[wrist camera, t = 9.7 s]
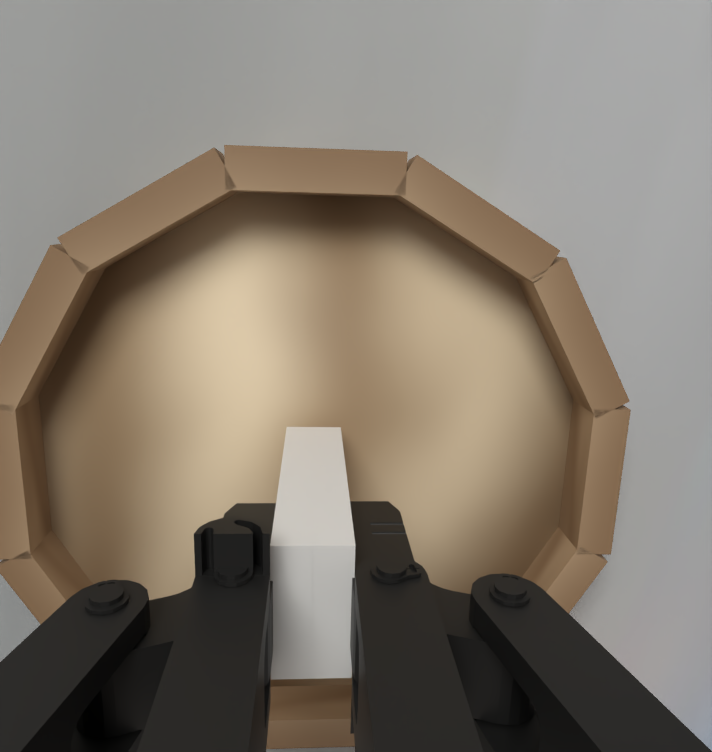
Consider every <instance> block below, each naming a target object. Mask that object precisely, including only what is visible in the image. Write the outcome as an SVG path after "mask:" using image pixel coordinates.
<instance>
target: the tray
mask: <svg viewBox="0 0 712 752" xmlns="http://www.w3.org/2000/svg"><path fill="white" fill-rule="evenodd" d="M224 149H225V157H224V155H223V154H222V153H221V152H219V151H218V150H217V149H215V148H212V149H211V150H209V151H207V152H206V153H204V154H202V155H200V156H199V157H197V158H195V159H193V160H192V161H190V162H188V163H186V164H185V165H183V166H181V167H179V168H178V169H176V170H174V171H172V172H171V173H169V174H167V175H166V176H164V177H162V178H160V179H159V180H157V181H155V182H153V183H152V184H150V185H148V186H146V187H145V188H143V189H141V190H139V191H138V192H136V193H134V194H132V195H131V196H129V197H127V198H126V199H124V200H122V201H120V202H119V203H117V204H115V205H113V206H112V207H110V208H108V209H106V210H105V211H103V212H101V213H99V214H98V215H96V216H94V217H93V218H91V219H89V220H87V221H86V222H84V223H82V224H80V225H79V226H77V227H75V228H73V229H72V230H70V231H68V232H66V233H65V234H63V235H61V236H59V237H58V239H59V241H60V243H61V244H57V245H50V247H49V249H48V251H47V253H46V255H45V257H44V259H43V261H42V263H41V265H40V267H39V269H38V271H37V273H36V275H35V277H34V279H33V281H32V283H31V285H30V286H29V288H28V290H27V292H26V294H25V296H24V298H23V300H22V302H21V304H20V306H19V308H18V310H17V312H16V314H15V316H14V318H13V320H12V322H11V324H10V326H9V328H8V330H7V332H6V334H5V336H4V338H3V340H2V342H1V344H0V559H3V560H2V561H1V562H0V574H1V575H2V576H3V577H4V579H5V580H6V581H7V582H8V584H9V585H10V586H11V587H12V589H13V590H14V591H15V592H16V594H17V595H18V596H19V598H20V599H21V600H22V601H23V603H24V604H25V605H26V606H27V608H28V609H29V610H30V611H31V613H32V614H33V615H34V616H35V618H36V619H37V620H38V621H39V623H40V624H42V623H43V622H44V621H45V620H46V619H47V618H48V617H50V616H51V615H52V614H53V613H54V612H55V611H56V610H57V609H58V608H59V607H60V606H61V605H62V604H63V603H65V602H66V601H67V600H68V599H69V598H70V597H71V596H73V595H74V594H75V593H77V592H78V591H80V590H81V589H83V588H85V587H88V586H91V585H93V584H96V583H98V582H102V581H107V580H130V581H133V582H137V583H140V584H141V585H142V586H144V587H145V588H146V589H147V591H148V596H149V600H153V599H157V598H162V597H167V596H171V595H175V594H178V593H181V592H183V591H185V590H188V589H190V588H191V587H192V585H193V582H194V579H195V555H194V533H195V532H196V531H197V529H198V528H199V527H200V526H202V525H204V524H206V523H208V522H210V521H213V520H217V519H220V518H223V517H224V514H225V513H226V512H227V511H228V510H229V509H230V508H232V507H233V506H234V505H235V504H236V503H276V500H277V493H278V485H279V478H280V471H281V464H282V457H283V449H284V442H285V435H286V428H287V427H341V434H342V442H343V450H344V458H345V466H346V474H347V482H348V490H349V498H350V501H388V502H390V503H391V504H392V505H393V506H394V507H396V508H397V509H398V510H399V511H400V513H401V517H402V520H403V525H404V527H405V530H406V534H407V537H408V541H409V544H410V547H411V551H412V554H413V558H414V561H415V562H417V563H418V564H420V565H422V566H423V568H424V569H425V571H426V572H427V574H428V577H429V580H430V583H432V584H434V585H436V586H439V587H441V588H444V589H448V590H452V591H456V592H462V593H467V594H471V588H472V584H473V583H474V582H475V581H476V580H477V579H478V578H480V577H483V576H486V575H489V574H501V573H505V574H510V575H511V574H513V575H517V576H520V577H522V578H525V579H527V580H530V581H532V582H534V583H535V584H536V585H538V586H539V587H541V588H542V589H543V590H544V591H545V592H546V593H547V594H549V595H550V596H551V597H552V598H553V599H554V600H555V601H556V602H557V603H558V604H559V605H560V606H561V607H562V608H563V609H564V610H565V611H566V612H567V613H568V614H569V612H570V611H571V610H572V608H573V607H574V606H575V604H576V603H577V602H578V600H579V599H580V598H581V596H582V595H583V594H584V592H585V591H586V590H587V588H588V587H589V586H590V584H591V583H592V582H593V580H594V579H595V578H596V576H597V575H598V574H599V573H600V571H601V570H602V569H603V567H604V566H605V565H606V563H607V561H606V559H605V558H604V557H603V556H602V555H601V554H611V548H612V541H613V534H614V527H615V519H616V512H617V505H618V498H619V490H620V483H621V476H622V469H623V461H624V454H625V447H626V440H627V432H628V425H629V418H630V411H631V410H630V409H628V408H627V407H625V406H623V404H625V403H627V402H629V399H628V397H627V394H626V392H625V390H624V388H623V385H622V383H621V381H620V379H619V376H618V374H617V372H616V370H615V367H614V365H613V363H612V360H611V358H610V356H609V354H608V351H607V349H606V347H605V345H604V342H603V340H602V338H601V336H600V333H599V331H598V329H597V327H596V324H595V322H594V320H593V317H592V315H591V313H590V311H589V308H588V306H587V304H586V302H585V299H584V297H583V295H582V293H581V290H580V288H579V286H578V284H577V281H576V279H575V277H574V274H573V272H572V270H571V268H570V265H569V263H568V261H567V259H566V258H562V257H556V256H557V255H558V253H559V252H560V250H558V249H557V248H555V247H554V246H552V245H551V244H549V243H548V242H546V241H545V240H543V239H542V238H540V237H539V236H537V235H536V234H534V233H533V232H531V231H530V230H528V229H527V228H525V227H524V226H522V225H521V224H520V223H518V222H517V221H515V220H514V219H512V218H511V217H509V216H508V215H506V214H505V213H503V212H502V211H500V210H499V209H497V208H496V207H494V206H493V205H491V204H490V203H488V202H487V201H485V200H484V199H482V198H481V197H479V196H478V195H476V194H475V193H473V192H472V191H470V190H469V189H467V188H466V187H464V186H463V185H461V184H460V183H458V182H457V181H455V180H454V179H452V178H451V177H449V176H448V175H446V174H445V173H443V172H442V171H441V170H439V169H438V168H436V167H435V166H433V165H432V164H430V163H429V162H427V161H426V160H424V159H423V158H421V157H420V156H418V155H416V156H415V157H413V158H412V159H410V160H409V161H408V162H407V152H400V151H372V150H345V149H317V148H290V147H263V146H235V145H224ZM270 681H271V701H270V712H269V724H268V735H267V746H266V749H284V748H319V747H353V746H355V740H354V734H350V728H351V695H352V678H321V679H274V680H271V676H270Z"/></svg>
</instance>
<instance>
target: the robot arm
mask: <svg viewBox="0 0 712 752" xmlns="http://www.w3.org/2000/svg"><path fill="white" fill-rule="evenodd" d="M194 555H195V579H194V582H193V585H192V587H191V588H190V589H188V590H185V591H183V592H181V593H178V594H175V595H171V596H167V597H162V598H157V599H153V600H149V596H148V591H147V589H146V588H145V587H144V586H142V585H141V584H140V583H137V582H133V581H130V580H107V581H102V582H98V583H96V584H93V585H91V586H88V587H85V588H83V589H81V590H80V591H78V592H77V593H75V594H74V595H73V596H71V597H70V598H69V599H68V600H67V601H66V602H65V603H63V604H62V605H61V606H60V607H59V608H58V609H57V610H56V611H55V612H54V613H53V614H52V615H51V616H50V617H48V618H47V619H46V620H45V621H44V622H43V623H42V624H41V625H40V626H39V627H38V628H37V629H36V630H34V631H33V632H32V633H31V634H30V635H29V636H28V637H27V638H26V639H25V640H24V641H23V642H22V643H21V644H19V645H18V646H17V647H16V648H15V649H14V650H13V651H12V652H11V653H10V654H9V655H8V656H7V657H5V658H4V659H3V660H2V661H1V662H0V752H266V746H267V735H268V724H269V712H270V701H271V681H270V676H271V680H274V679H321V678H352V695H351V728H350V734H354V740H355V752H712V751H711V750H710V749H709V748H708V747H707V746H706V745H705V744H704V743H703V742H702V741H700V740H699V739H698V738H697V737H696V736H695V735H694V734H693V733H692V732H691V731H690V730H689V729H688V728H687V727H686V726H685V725H684V724H683V723H682V722H681V721H680V720H679V719H678V718H677V717H675V716H674V715H673V714H672V713H671V712H670V711H669V710H668V709H667V708H666V707H665V706H664V705H663V704H662V703H661V702H660V701H659V700H658V699H657V698H656V697H655V696H654V695H653V694H652V693H651V692H649V691H648V690H647V689H646V688H645V687H644V686H643V685H642V684H641V683H640V682H639V681H638V680H637V679H636V678H635V677H634V676H633V675H632V674H631V673H630V672H629V671H628V670H627V669H626V668H624V667H623V666H622V665H621V664H620V663H619V662H618V661H617V660H616V659H615V658H614V657H613V656H612V655H611V654H610V653H609V652H608V651H607V650H606V649H605V648H604V647H603V646H602V645H601V644H600V643H598V642H597V641H596V640H595V639H594V638H593V637H592V636H591V635H590V634H589V633H588V632H587V631H586V630H585V629H584V628H583V627H582V626H581V625H580V624H579V623H578V622H577V621H576V620H575V619H573V618H572V617H571V616H570V615H569V614H568V613H567V612H566V611H565V610H564V609H563V608H562V607H561V606H560V605H559V604H558V603H557V602H556V601H555V600H554V599H553V598H552V597H551V596H550V595H549V594H547V593H546V592H545V591H544V590H543V589H542V588H541V587H539V586H538V585H536V584H535V583H534V582H532V581H530V580H527V579H525V578H522V577H520V576H517V575H513V574H511V575H510V574H505V573H501V574H489V575H486V576H483V577H480V578H478V579H477V580H476V581H475V582H474V583H473V584H472V588H471V594H467V593H462V592H456V591H452V590H448V589H444V588H441V587H439V586H436V585H434V584H432V583H430V580H429V577H428V574H427V572H426V571H425V569H424V568H423V566H422V565H420V564H418V563H417V562H415V561H414V558H413V554H412V551H411V547H410V544H409V541H408V537H407V534H406V530H405V527H404V525H403V520H402V517H401V513H400V511H399V510H398V509H397V508H396V507H394V506H393V505H392V504H391V503H390V502H388V501H350V498H349V490H348V482H347V474H346V466H345V458H344V450H343V442H342V434H341V427H287V428H286V435H285V442H284V449H283V457H282V464H281V471H280V478H279V485H278V493H277V500H276V503H236V504H235V505H234V506H233V507H232V508H230V509H229V510H228V511H227V512H226V513H225V514H224V517H223V518H220V519H217V520H213V521H210V522H208V523H206V524H204V525H202V526H200V527H199V528H198V529H197V531H196V532H195V533H194Z"/></svg>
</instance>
